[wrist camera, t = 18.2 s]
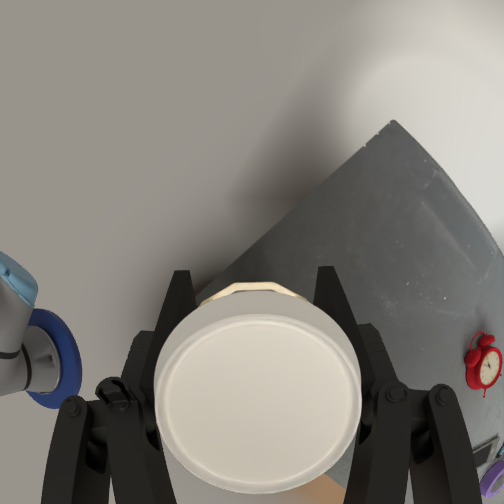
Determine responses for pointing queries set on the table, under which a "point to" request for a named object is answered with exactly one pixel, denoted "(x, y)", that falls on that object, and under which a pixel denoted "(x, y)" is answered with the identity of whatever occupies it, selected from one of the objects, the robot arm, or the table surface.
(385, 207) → the table surface
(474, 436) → the table surface
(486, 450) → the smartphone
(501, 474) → the tape roll
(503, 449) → the pen
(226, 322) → the beverage can
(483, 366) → the alarm clock
